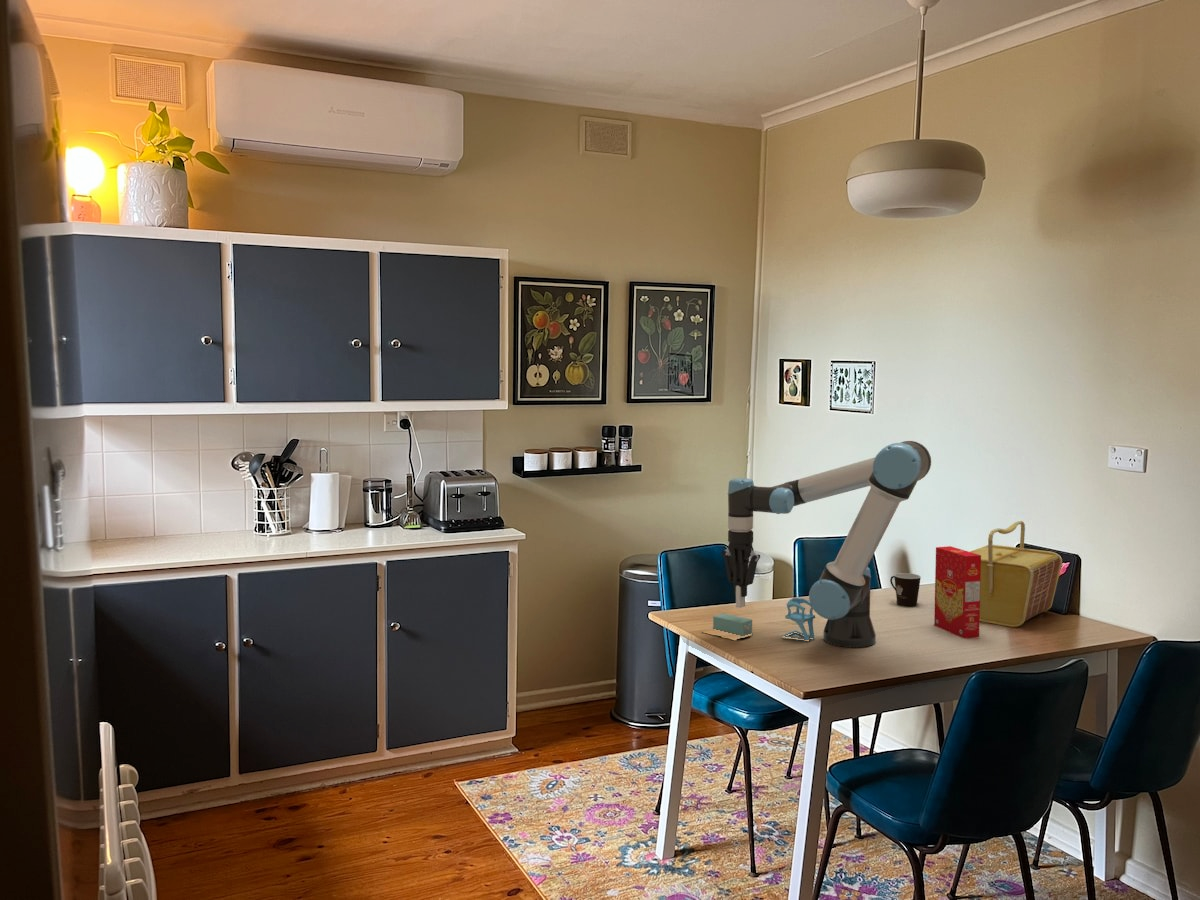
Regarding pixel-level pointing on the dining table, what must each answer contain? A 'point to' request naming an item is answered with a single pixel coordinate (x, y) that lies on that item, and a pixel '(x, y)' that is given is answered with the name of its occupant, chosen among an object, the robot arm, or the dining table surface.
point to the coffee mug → (906, 589)
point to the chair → (800, 618)
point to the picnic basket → (1016, 580)
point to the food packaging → (957, 591)
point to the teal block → (732, 624)
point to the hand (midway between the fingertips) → (740, 606)
